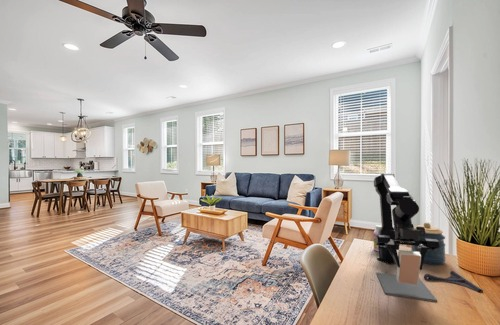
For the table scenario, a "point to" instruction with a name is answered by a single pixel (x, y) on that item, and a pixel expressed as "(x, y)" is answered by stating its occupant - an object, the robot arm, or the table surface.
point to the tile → (408, 267)
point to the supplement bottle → (376, 236)
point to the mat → (404, 288)
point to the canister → (433, 255)
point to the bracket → (454, 280)
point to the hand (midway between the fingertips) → (409, 268)
